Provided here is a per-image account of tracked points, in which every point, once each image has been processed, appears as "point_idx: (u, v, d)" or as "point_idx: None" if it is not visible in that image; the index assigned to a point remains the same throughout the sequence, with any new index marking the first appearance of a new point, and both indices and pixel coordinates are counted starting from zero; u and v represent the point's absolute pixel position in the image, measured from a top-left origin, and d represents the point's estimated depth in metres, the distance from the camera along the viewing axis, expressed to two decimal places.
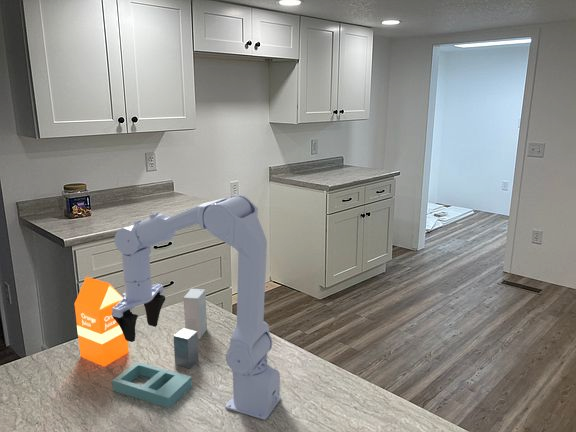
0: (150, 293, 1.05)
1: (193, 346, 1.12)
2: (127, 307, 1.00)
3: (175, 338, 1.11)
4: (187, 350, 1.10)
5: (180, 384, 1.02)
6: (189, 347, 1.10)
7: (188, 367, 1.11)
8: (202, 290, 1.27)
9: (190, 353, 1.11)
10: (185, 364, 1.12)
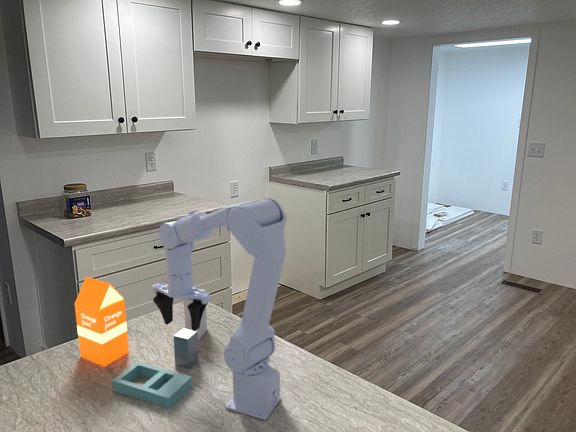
0: (175, 291, 1.05)
1: (193, 346, 1.12)
2: (158, 289, 1.09)
3: (175, 338, 1.11)
4: (187, 350, 1.10)
5: (180, 384, 1.02)
6: (189, 347, 1.10)
7: (188, 367, 1.11)
8: (202, 290, 1.27)
9: (190, 353, 1.11)
10: (185, 364, 1.12)
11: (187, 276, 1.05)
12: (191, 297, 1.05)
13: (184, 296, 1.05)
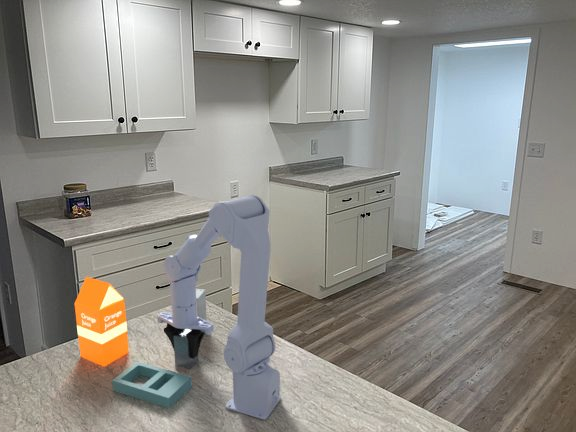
0: (180, 322, 1.08)
1: None
2: (163, 319, 1.12)
3: (175, 338, 1.11)
4: (187, 350, 1.10)
5: (180, 384, 1.02)
6: (189, 347, 1.10)
7: (188, 367, 1.11)
8: (202, 290, 1.27)
9: None
10: (185, 364, 1.12)
11: (191, 307, 1.08)
12: (195, 328, 1.08)
13: (188, 327, 1.08)
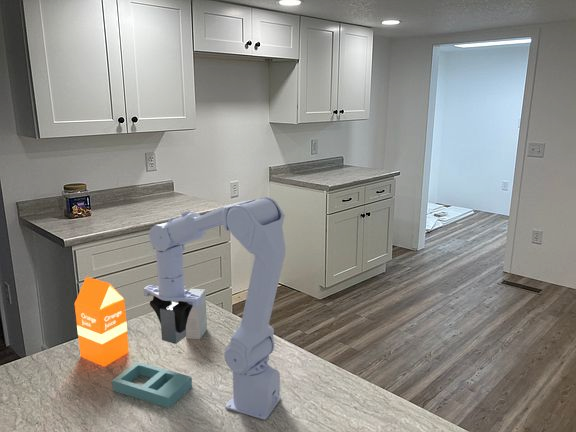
0: (166, 293, 1.04)
1: None
2: (149, 291, 1.08)
3: (161, 311, 1.07)
4: (174, 323, 1.06)
5: (180, 384, 1.02)
6: None
7: (175, 341, 1.07)
8: (202, 290, 1.27)
9: None
10: (172, 338, 1.07)
11: (178, 278, 1.04)
12: (182, 300, 1.04)
13: (175, 299, 1.04)
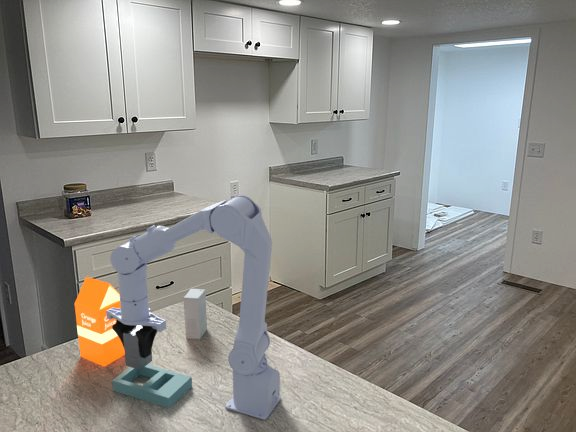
0: (128, 317, 0.98)
1: None
2: (112, 314, 1.02)
3: (125, 335, 1.01)
4: (137, 349, 1.00)
5: (180, 384, 1.02)
6: None
7: (139, 367, 1.01)
8: (202, 290, 1.27)
9: None
10: (136, 364, 1.02)
11: (141, 302, 0.98)
12: (145, 324, 0.98)
13: (138, 323, 0.98)
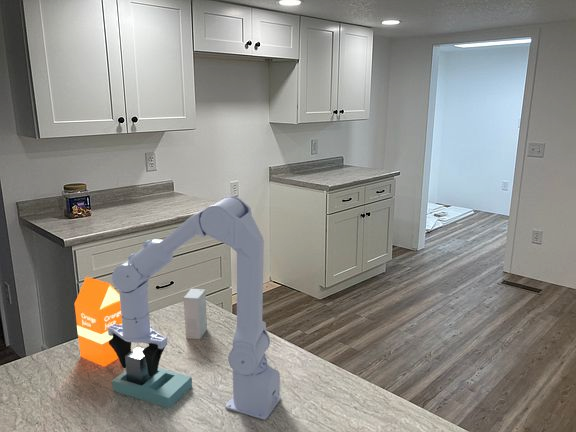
0: (130, 335, 0.99)
1: None
2: (113, 331, 1.03)
3: (127, 358, 1.02)
4: (139, 371, 1.02)
5: (180, 384, 1.02)
6: (141, 368, 1.02)
7: None
8: (202, 290, 1.27)
9: (143, 374, 1.03)
10: None
11: (142, 319, 0.99)
12: (147, 341, 0.99)
13: (139, 340, 0.99)
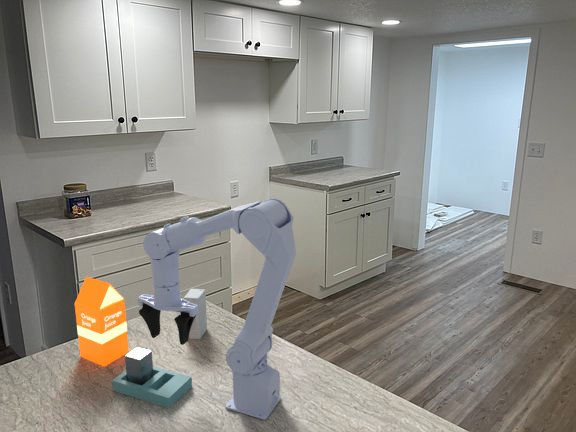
0: (161, 303, 1.00)
1: (147, 367, 1.04)
2: (144, 301, 1.03)
3: (127, 358, 1.02)
4: (139, 371, 1.02)
5: (180, 384, 1.02)
6: (142, 368, 1.02)
7: None
8: (202, 290, 1.27)
9: (143, 374, 1.03)
10: None
11: (174, 287, 1.00)
12: (178, 309, 1.00)
13: (171, 308, 1.00)
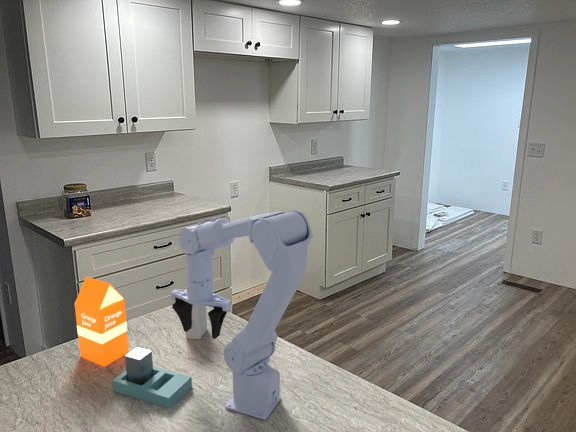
0: (195, 298, 1.02)
1: (147, 367, 1.04)
2: (177, 295, 1.06)
3: (127, 358, 1.02)
4: (139, 371, 1.02)
5: (180, 384, 1.02)
6: (142, 368, 1.02)
7: None
8: None
9: (143, 374, 1.03)
10: None
11: (208, 282, 1.02)
12: (212, 304, 1.02)
13: (204, 303, 1.02)
